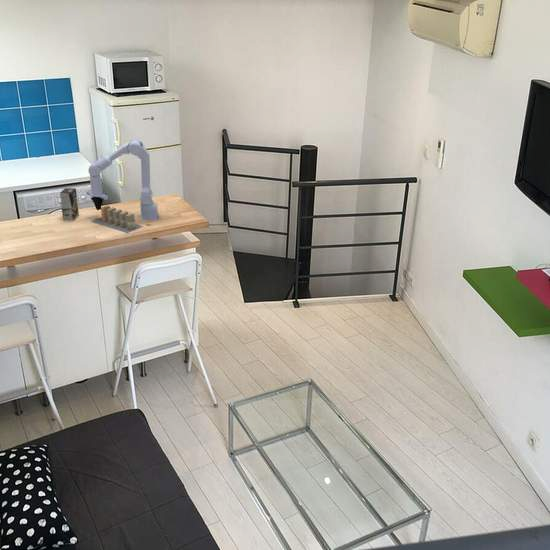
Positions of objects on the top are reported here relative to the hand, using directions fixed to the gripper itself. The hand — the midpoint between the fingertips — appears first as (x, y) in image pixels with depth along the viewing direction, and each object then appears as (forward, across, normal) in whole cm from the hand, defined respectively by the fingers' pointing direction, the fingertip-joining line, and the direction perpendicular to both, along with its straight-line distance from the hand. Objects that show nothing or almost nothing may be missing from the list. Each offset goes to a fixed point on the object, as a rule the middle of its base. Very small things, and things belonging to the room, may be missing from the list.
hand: (98, 209), depth 343 cm
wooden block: (+5, +19, 0) cm, 20 cm away
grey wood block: (+5, +10, 0) cm, 12 cm away
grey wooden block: (+5, +15, 0) cm, 16 cm away
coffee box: (+6, -14, -8) cm, 17 cm away
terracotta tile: (+5, +6, 0) cm, 8 cm away
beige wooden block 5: (+5, +24, 0) cm, 25 cm away
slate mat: (+6, +13, 0) cm, 15 cm away
